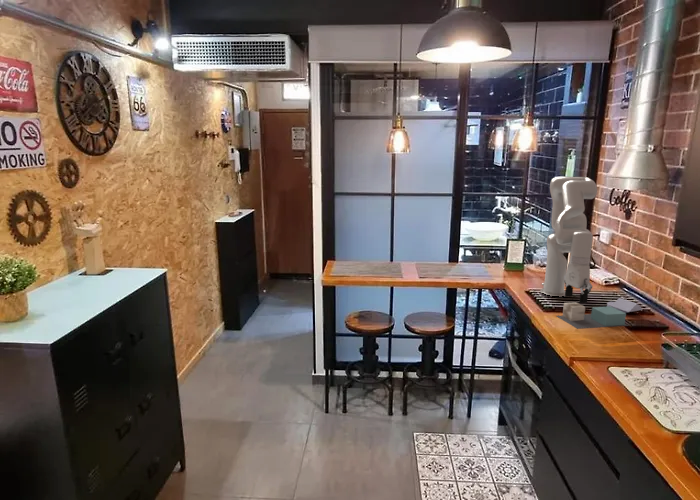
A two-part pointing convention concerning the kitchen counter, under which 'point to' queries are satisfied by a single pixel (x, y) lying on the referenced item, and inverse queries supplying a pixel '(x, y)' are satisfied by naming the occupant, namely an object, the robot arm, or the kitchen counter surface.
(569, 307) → the cream cube
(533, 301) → the kitchen counter surface
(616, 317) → the plinth
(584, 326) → the mat
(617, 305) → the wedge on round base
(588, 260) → the robot arm
